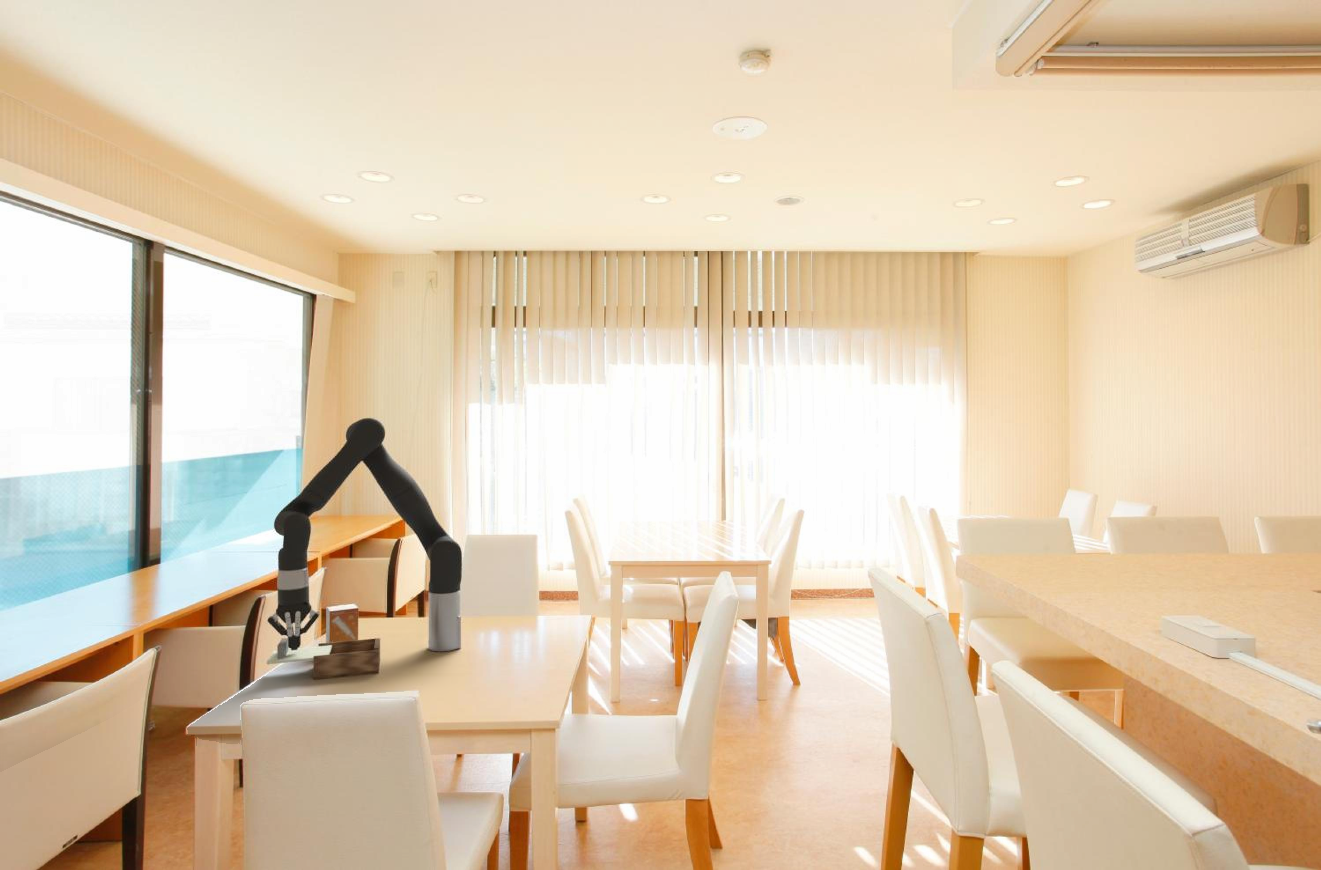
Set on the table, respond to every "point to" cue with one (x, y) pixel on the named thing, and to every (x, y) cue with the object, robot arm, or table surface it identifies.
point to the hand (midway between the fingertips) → (294, 649)
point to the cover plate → (296, 653)
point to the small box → (341, 623)
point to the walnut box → (348, 659)
